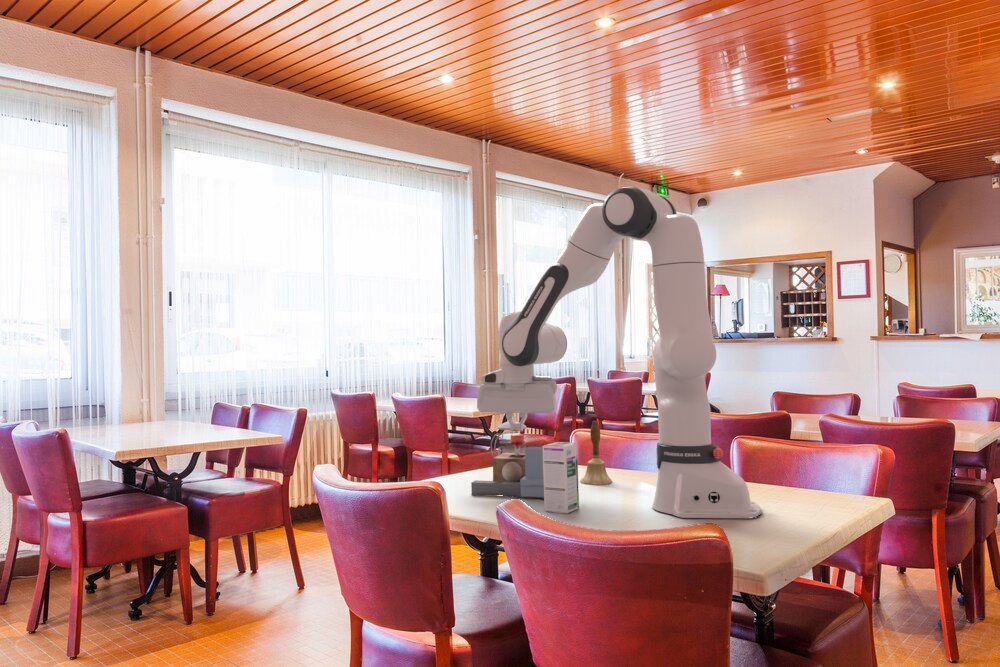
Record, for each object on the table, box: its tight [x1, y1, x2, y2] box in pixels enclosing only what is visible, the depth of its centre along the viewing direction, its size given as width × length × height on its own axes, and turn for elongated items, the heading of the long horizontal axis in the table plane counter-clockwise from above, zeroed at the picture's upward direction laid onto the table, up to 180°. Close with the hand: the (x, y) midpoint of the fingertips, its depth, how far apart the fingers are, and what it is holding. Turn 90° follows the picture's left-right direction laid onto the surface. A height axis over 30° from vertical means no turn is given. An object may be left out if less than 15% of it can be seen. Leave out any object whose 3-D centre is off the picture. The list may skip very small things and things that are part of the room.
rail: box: [470, 479, 544, 499], centre depth 180 cm, size 21×3×3 cm, turn 74°
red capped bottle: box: [510, 434, 525, 457], centre depth 190 cm, size 3×3×8 cm
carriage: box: [520, 446, 544, 498], centre depth 178 cm, size 6×7×11 cm
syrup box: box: [542, 441, 580, 515], centre depth 163 cm, size 6×6×14 cm
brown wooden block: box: [492, 453, 525, 482], centre depth 190 cm, size 10×11×8 cm
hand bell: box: [580, 420, 613, 486], centre depth 196 cm, size 8×8×16 cm
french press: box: [490, 420, 527, 458], centre depth 205 cm, size 10×12×25 cm
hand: (516, 430), depth 190 cm, fingers closed
